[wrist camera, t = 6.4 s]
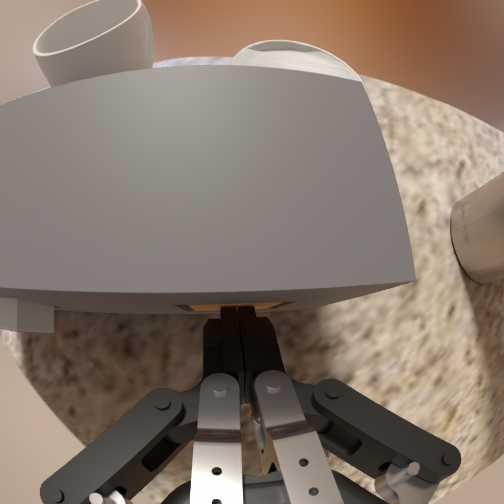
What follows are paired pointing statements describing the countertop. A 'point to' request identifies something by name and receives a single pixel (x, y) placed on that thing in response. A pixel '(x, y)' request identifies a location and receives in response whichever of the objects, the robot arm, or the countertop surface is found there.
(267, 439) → the robot arm
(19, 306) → the white cube
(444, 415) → the countertop surface
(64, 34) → the mug
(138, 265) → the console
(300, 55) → the ramekin
